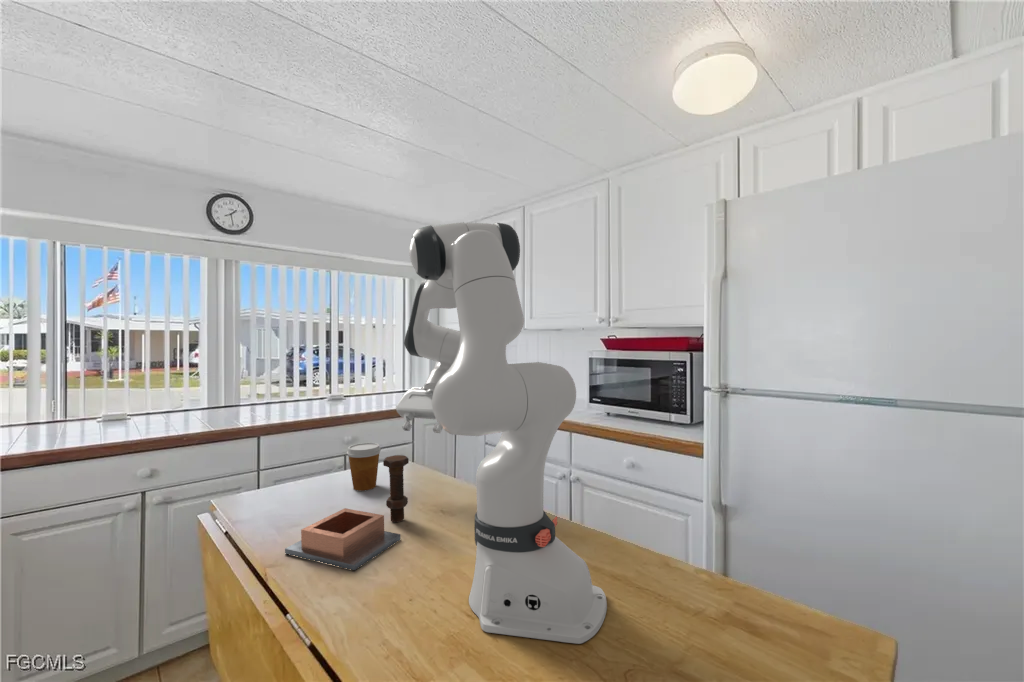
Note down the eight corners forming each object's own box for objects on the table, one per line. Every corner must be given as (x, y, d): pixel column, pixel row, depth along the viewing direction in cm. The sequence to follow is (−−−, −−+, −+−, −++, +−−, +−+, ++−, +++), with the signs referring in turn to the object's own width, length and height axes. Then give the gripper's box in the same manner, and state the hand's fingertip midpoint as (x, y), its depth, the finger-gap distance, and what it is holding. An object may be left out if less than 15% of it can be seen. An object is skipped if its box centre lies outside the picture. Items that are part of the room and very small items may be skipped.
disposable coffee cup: (349, 495, 126) (347, 452, 126) (346, 485, 135) (345, 444, 135) (384, 489, 130) (383, 447, 130) (379, 480, 139) (378, 441, 139)
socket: (400, 539, 98) (400, 515, 98) (354, 571, 85) (353, 543, 85) (336, 526, 105) (336, 504, 105) (285, 554, 92) (284, 529, 92)
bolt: (402, 526, 105) (400, 461, 105) (381, 525, 106) (380, 460, 106) (412, 516, 111) (411, 455, 110) (393, 515, 112) (391, 454, 111)
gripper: (404, 380, 128) (382, 421, 119) (468, 381, 120) (449, 426, 111) (414, 394, 132) (393, 434, 123) (476, 396, 124) (459, 440, 115)
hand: (420, 430), depth 117 cm, fingers open, 8 cm apart
